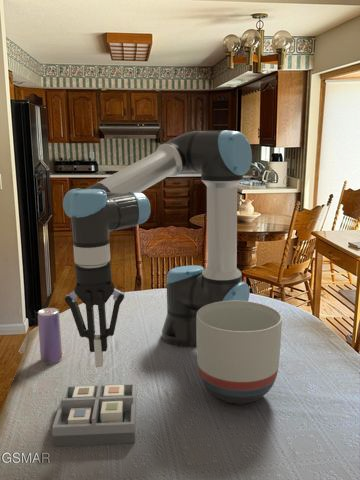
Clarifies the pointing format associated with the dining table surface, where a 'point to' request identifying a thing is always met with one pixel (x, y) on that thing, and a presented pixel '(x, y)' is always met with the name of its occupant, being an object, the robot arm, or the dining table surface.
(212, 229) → the robot arm
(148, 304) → the dining table surface
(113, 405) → the key
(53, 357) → the beverage can
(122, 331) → the dining table surface
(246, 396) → the planter
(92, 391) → the key
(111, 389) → the key
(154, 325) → the dining table surface
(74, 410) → the key
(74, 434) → the keypad
